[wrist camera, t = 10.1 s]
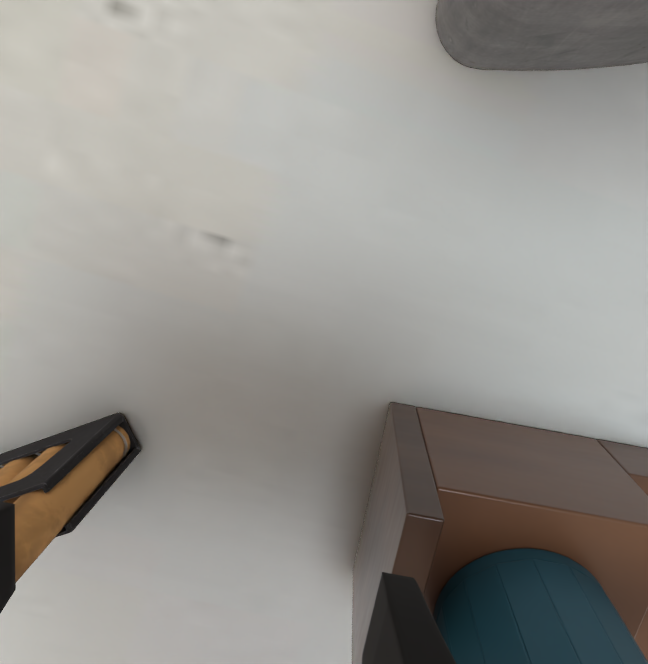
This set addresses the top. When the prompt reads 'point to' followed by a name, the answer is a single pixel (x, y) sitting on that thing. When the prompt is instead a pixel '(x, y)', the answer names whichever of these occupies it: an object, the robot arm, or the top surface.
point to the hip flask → (544, 33)
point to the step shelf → (500, 508)
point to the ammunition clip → (62, 481)
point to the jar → (531, 613)
